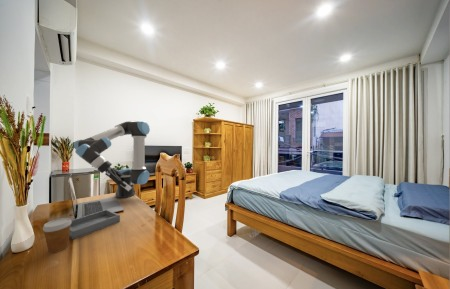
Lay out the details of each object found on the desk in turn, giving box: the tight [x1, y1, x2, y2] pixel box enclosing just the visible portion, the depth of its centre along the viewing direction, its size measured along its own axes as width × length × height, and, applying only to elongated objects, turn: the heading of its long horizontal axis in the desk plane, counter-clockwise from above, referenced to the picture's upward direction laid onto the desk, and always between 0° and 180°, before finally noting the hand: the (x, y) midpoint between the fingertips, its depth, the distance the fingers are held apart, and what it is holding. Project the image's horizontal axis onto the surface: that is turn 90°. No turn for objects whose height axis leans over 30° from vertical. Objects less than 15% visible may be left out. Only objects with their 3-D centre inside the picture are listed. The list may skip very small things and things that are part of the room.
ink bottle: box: [118, 175, 134, 196], centre depth 113 cm, size 10×9×12 cm
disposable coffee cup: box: [42, 217, 72, 254], centre depth 78 cm, size 10×10×12 cm
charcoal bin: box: [69, 209, 121, 240], centre depth 99 cm, size 22×16×4 cm
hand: (131, 187), depth 114 cm, fingers closed on ink bottle, 8 cm apart
